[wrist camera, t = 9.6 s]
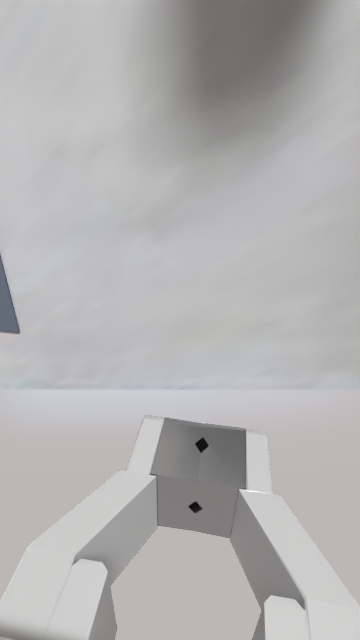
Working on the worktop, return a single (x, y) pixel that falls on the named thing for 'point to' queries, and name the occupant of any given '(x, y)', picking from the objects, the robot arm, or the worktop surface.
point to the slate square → (6, 305)
